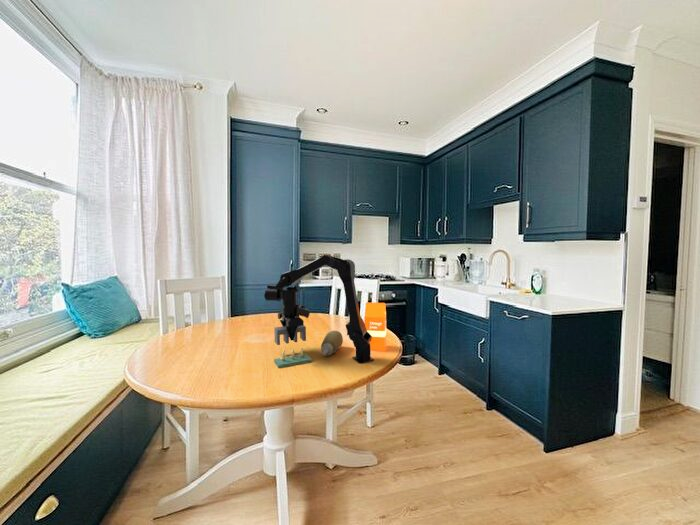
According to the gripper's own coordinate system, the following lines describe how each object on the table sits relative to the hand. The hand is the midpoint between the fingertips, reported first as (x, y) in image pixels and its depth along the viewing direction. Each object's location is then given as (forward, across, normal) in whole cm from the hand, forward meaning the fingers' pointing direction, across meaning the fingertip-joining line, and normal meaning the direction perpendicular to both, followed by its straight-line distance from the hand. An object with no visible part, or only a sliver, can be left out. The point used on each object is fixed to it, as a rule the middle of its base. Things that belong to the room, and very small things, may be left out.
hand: (290, 338), depth 125 cm
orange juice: (+6, -11, -35) cm, 37 cm away
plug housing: (+1, 0, 0) cm, 1 cm away
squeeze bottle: (+2, -1, -21) cm, 21 cm away
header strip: (+6, -10, +2) cm, 12 cm away
